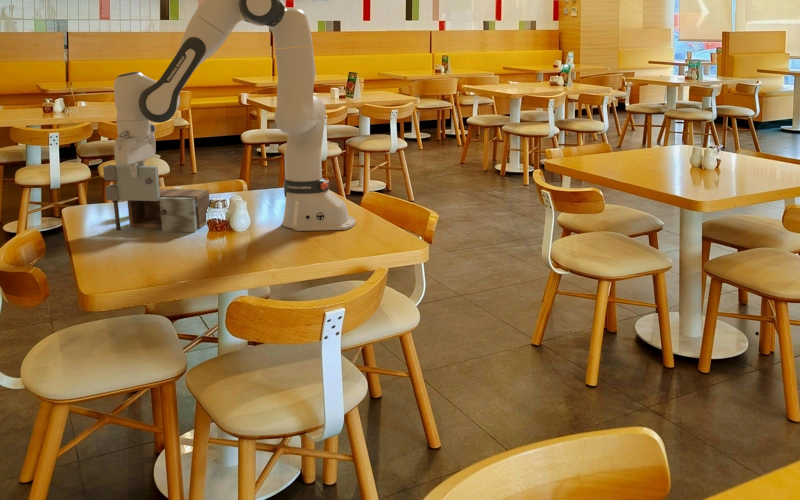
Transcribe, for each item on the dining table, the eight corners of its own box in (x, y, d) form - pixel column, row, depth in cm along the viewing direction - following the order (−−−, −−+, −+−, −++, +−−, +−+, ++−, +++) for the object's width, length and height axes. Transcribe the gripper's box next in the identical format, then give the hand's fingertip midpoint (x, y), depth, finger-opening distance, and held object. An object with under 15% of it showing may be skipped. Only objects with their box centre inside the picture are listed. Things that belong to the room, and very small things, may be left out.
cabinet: (211, 221, 246) (208, 189, 243) (193, 233, 231) (190, 200, 228) (135, 219, 248) (132, 188, 245) (113, 231, 234) (109, 198, 231)
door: (161, 199, 233) (158, 165, 231) (156, 201, 230) (153, 168, 227) (111, 197, 235) (108, 165, 232) (105, 200, 231) (102, 167, 229)
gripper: (128, 134, 216) (132, 183, 220) (157, 125, 236) (161, 170, 240) (106, 133, 217) (111, 182, 221) (137, 125, 237) (142, 170, 240)
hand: (137, 176), depth 230 cm, fingers closed on door, 2 cm apart
